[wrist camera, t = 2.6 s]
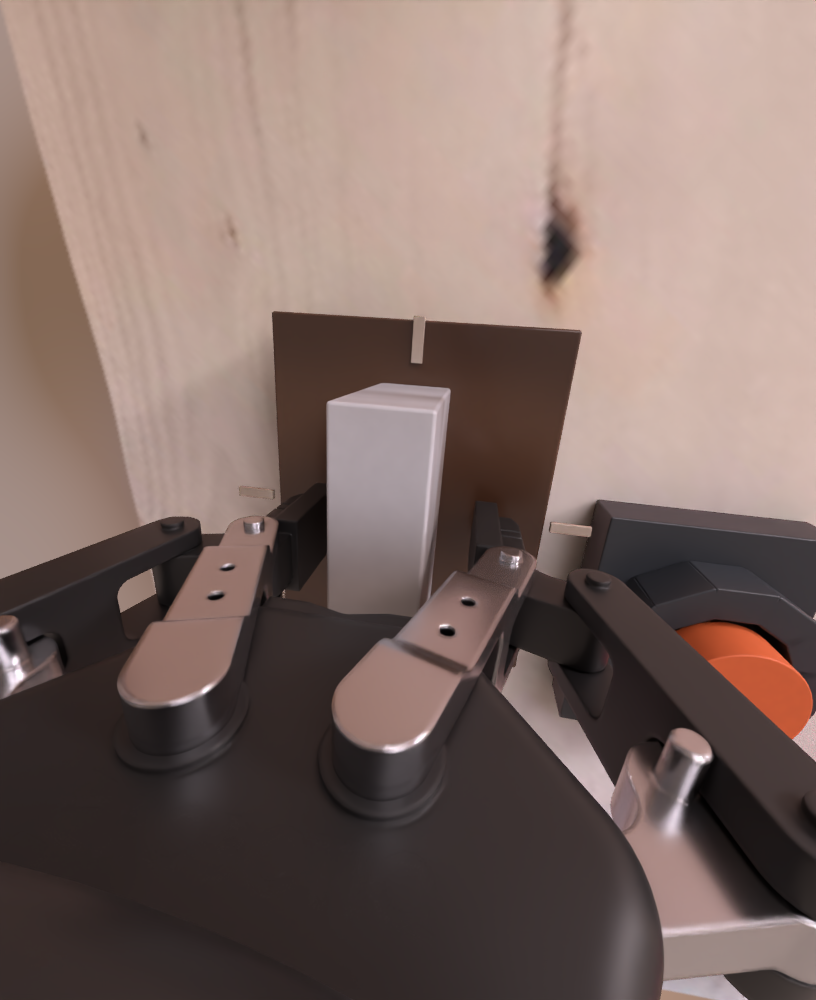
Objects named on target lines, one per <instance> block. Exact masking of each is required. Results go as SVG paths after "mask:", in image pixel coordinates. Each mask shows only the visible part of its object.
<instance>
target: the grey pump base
mask: <svg viewBox="0 0 816 1000" xmlns="http://www.w3.org/2000/svg"><path fill="white" fill-rule="evenodd" d="M591 527H592V532H591V536H590V537H588V540H587V544H586V548H585V552H584V556H583V560H582V564H581V568H580V569H593V570H598V571H602V572H605V573H608V574H610V575H612V576H614V577H616V578H618V579H619V580H621V581H622V582H623V583H624V584H625V585H626V586H627V587H628V588H630V589H631V590H632V591H633V592H634V593H635V594H636V595H637V596H638V597H639V598H640V599H641V600H642V601H644V602H645V603H646V604H647V605H648V606H649V607H650V608H651V609H652V610H653V611H654V612H655V613H656V614H657V615H659V616H660V617H661V618H662V619H663V620H664V621H665V622H666V623H667V624H668V625H669V626H670V627H671V628H672V629H674V630H678V629H680V628H683V627H687V626H690V625H694V624H698V623H703V622H727V623H732V624H737V625H740V626H743V627H746V628H748V629H750V630H753V631H754V632H756V633H757V634H759V635H760V636H762V637H763V638H764V639H765V640H766V641H767V642H768V643H769V644H770V645H771V646H772V647H773V648H774V649H775V650H776V651H777V652H778V653H779V654H780V655H781V656H782V657H783V658H784V659H785V660H786V661H787V662H788V663H789V664H790V665H791V666H793V667H794V668H795V669H796V670H797V671H798V672H799V673H800V675H801V676H802V677H803V678H804V679H805V681H806V682H807V684H808V685H809V688H810V691H811V693H812V699H813V706H812V712H811V715H810V718H811V716H813V715H814V713H815V711H816V621H815V620H814V619H813V617H814V615H815V613H816V527H815V526H813V525H811V524H809V523H807V522H799V521H790V520H781V519H771V518H762V517H753V516H744V515H734V514H725V513H716V512H707V511H698V510H688V509H679V508H670V507H661V506H652V505H642V504H633V503H624V502H615V501H605V500H597V503H596V507H595V511H594V515H593V519H592V523H591ZM608 663H609V664H610V665H611V666H612V662H611V659H610V656H609V658H608ZM612 668H613V667H612ZM552 686H553V690H554V694H555V699H556V703H557V707H558V711H559V716H560V717H563V718H569V719H575V720H577V718H576V716H575V715H574V713H573V711H572V709H571V707H570V706H569V704H568V702H567V700H566V698H565V697H564V695H563V693H562V691H561V689H560V688H559V686H558V684H557V682H556V681H555V679H553V683H552ZM810 718H809V719H810Z"/></svg>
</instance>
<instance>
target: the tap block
mask: <svg viewBox="0 0 816 1000" xmlns="http://www.w3.org/2000/svg"><path fill="white" fill-rule="evenodd" d="M425 320H426V317H422V316H414V320H407V319H390V318H374V317H358V316H342V315H326V314H310V313H293V312H277V311H274V312H272V321H273V342H274V364H275V385H276V406H277V428H278V449H279V470H280V492H281V504H282V503H283V502H284V501H286V500H287V499H288V498H290V497H292V496H295V495H298V494H303V493H304V492H306V491H307V490H308V489H309V488H310V487H312V486H313V485H314V484H315V483H325V484H327V432H326V404H327V402H328V401H331V400H334V399H336V398H339V397H342V396H345V395H348V394H351V393H354V392H357V391H360V390H363V389H366V388H369V387H372V386H375V385H377V384H380V383H391V384H403V385H415V386H428V387H440V388H449V389H450V391H451V393H450V403H449V413H448V423H447V433H446V443H445V453H444V463H443V473H442V483H441V493H440V504H439V514H438V524H437V534H436V544H435V554H434V564H433V574H432V584H431V594H430V597H431V596H432V595H433V594H434V593H435V592H436V591H437V589H438V588H439V587H440V586H441V585H442V584H443V583H444V582H445V581H446V579H447V578H448V577H449V576H450V575H451V574H452V573H453V572H454V571H455V570H460V571H463V572H466V573H468V555H469V545H470V537H471V530H472V522H473V514H474V507H475V501H484V502H492V503H497V507H498V514H499V517H505V518H511V519H512V520H514V521H515V522H516V523H517V524H518V525H519V528H520V532H521V535H522V539H523V543H524V547H525V551H526V552H528V553H530V554H531V555H532V556H534V558H535V559H536V560H537V555H538V550H539V545H540V540H541V535H542V530H543V525H544V520H545V515H546V510H547V505H548V500H549V495H550V490H551V485H552V480H553V475H554V470H555V465H556V460H557V455H558V450H559V445H560V440H561V435H562V430H563V425H564V420H565V415H566V410H567V405H568V400H569V394H570V389H571V384H572V379H573V374H574V369H575V364H576V359H577V354H578V349H579V344H580V339H581V334H582V332H581V331H580V330H568V329H552V328H536V327H520V326H503V325H487V324H471V323H455V322H439V321H425ZM239 495H240V496H248V497H257V498H265V499H274V498H275V491H274V490H272V489H264V488H255V487H246V486H240V487H239ZM549 532H550V533H559V534H567V535H575V536H584V537H590V536H591V532H592V527H591V526H582V525H573V524H565V523H556V522H551V523H550V528H549ZM285 598H287V599H294V600H300V601H307V602H311V603H313V604H316V605H319V606H322V607H325V608H327V554H326V556H325V557H324V558H323V560H322V561H321V562H320V564H319V565H318V567H317V568H316V569H315V571H314V572H313V573H312V575H311V576H310V578H309V579H308V580H307V582H306V583H305V584H304V586H303V587H302V589H301V590H300V591H292V590H285ZM517 656H518V654H517ZM516 661H517V657H516V659H515V661H514V664H513V666H512V667H515V666H516Z"/></svg>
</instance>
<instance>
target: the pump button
mask: <svg viewBox="0 0 816 1000" xmlns="http://www.w3.org/2000/svg"><path fill="white" fill-rule="evenodd" d="M675 631H676V632H677V633H678V634H679V635H680V636H681V637H682V638H683V639H684V640H685V641H686V642H688V643H689V644H690V645H691V646H692V647H693V648H694V649H695V650H696V651H697V652H698V653H699V654H700V655H701V656H703V657H704V658H705V659H706V660H707V661H708V662H709V663H710V664H711V665H712V666H713V667H714V668H715V669H716V670H718V671H719V672H720V673H721V674H722V675H723V676H724V677H725V678H726V679H727V680H728V681H729V682H730V683H732V684H733V685H734V686H735V687H736V688H737V689H738V690H739V691H740V692H741V693H742V694H743V695H744V696H745V697H747V698H748V699H749V700H750V701H751V702H752V703H753V704H754V705H755V706H756V707H757V708H758V709H759V710H760V711H762V712H763V713H764V714H765V715H766V716H767V717H768V718H769V719H770V720H771V721H772V722H773V723H774V724H775V725H777V726H778V727H779V728H780V729H781V730H782V731H783V732H784V733H785V734H786V735H787V736H788V737H789V738H791V739H793V738H794V737H795V736H796V735H798V734H799V732H800V731H801V730H802V729H803V728H804V726H805V725H806V723H807V722H808V720H809V718H810V715H811V712H812V706H813V699H812V693H811V691H810V688H809V685H808V684H807V682H806V681H805V679H804V678H803V677H802V676H801V675H800V673H799V672H798V671H797V670H796V669H795V668H794V667H793V666H791V665H790V664H789V663H788V662H787V661H786V660H785V659H784V658H783V657H782V656H781V655H780V654H779V653H778V652H777V651H776V650H775V649H774V648H773V647H772V646H771V645H770V644H769V643H768V642H767V641H766V640H765V639H764V638H763V637H762V636H760V635H759V634H757V633H756V632H754V631H753V630H750V629H748V628H746V627H743V626H740V625H737V624H732V623H727V622H703V623H698V624H694V625H690V626H687V627H683V628H680V629H678V630H675Z"/></svg>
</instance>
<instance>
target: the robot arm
mask: <svg viewBox="0 0 816 1000" xmlns="http://www.w3.org/2000/svg"><path fill="white" fill-rule="evenodd" d="M326 554H327V484H325V483H315V484H314V485H313V486H312V487H310V488H309V489H308V490H307V491H306V492H304V493H303V494H298V495H295V496H292V497H290V498H288V499H287V500H286V501H284V502H283V503H282V504H281V505H279V506H278V507H277V509H274V510H273V511H272V512H271V513H269V514H268V515H267V516H249V517H244V518H240V519H237V520H235V521H233V522H232V523H230V525H229V526H228V528H227V530H226V532H225V534H202V533H201V525H200V521H199V520H197V519H195V518H191V517H168V518H165V519H161V520H157V521H155V522H152V523H149V524H147V525H144V526H141V527H139V528H136V529H134V530H131V531H128V532H125V533H123V534H120V535H117V536H115V537H112V538H109V539H107V540H104V541H101V542H99V543H96V544H93V545H91V546H88V547H85V548H83V549H80V550H77V551H75V552H72V553H69V554H67V555H64V556H61V557H59V558H56V559H53V560H50V561H48V562H45V563H43V564H40V565H37V566H34V567H32V568H29V569H26V570H24V571H21V572H19V573H16V574H13V575H10V576H8V577H5V578H2V579H0V1000H660V996H661V990H662V984H663V981H668V980H677V979H686V978H696V977H705V976H714V975H724V976H725V978H726V979H727V980H728V981H729V982H730V983H731V984H732V985H733V986H734V987H735V988H736V989H737V990H738V991H739V992H740V993H741V994H742V995H743V996H745V997H746V998H747V999H748V1000H816V762H815V761H814V760H813V759H812V758H811V757H810V756H809V755H808V754H807V753H806V752H804V751H803V750H802V749H801V748H800V747H799V746H798V745H797V744H796V743H795V742H794V741H793V740H792V739H791V738H789V737H788V736H787V735H786V734H785V733H784V732H783V731H782V730H781V729H780V728H779V727H778V726H777V725H775V724H774V723H773V722H772V721H771V720H770V719H769V718H768V717H767V716H766V715H765V714H764V713H763V712H762V711H760V710H759V709H758V708H757V707H756V706H755V705H754V704H753V703H752V702H751V701H750V700H749V699H748V698H747V697H745V696H744V695H743V694H742V693H741V692H740V691H739V690H738V689H737V688H736V687H735V686H734V685H733V684H732V683H730V682H729V681H728V680H727V679H726V678H725V677H724V676H723V675H722V674H721V673H720V672H719V671H718V670H716V669H715V668H714V667H713V666H712V665H711V664H710V663H709V662H708V661H707V660H706V659H705V658H704V657H703V656H701V655H700V654H699V653H698V652H697V651H696V650H695V649H694V648H693V647H692V646H691V645H690V644H689V643H688V642H686V641H685V640H684V639H683V638H682V637H681V636H680V635H679V634H678V633H677V632H676V631H675V630H674V629H672V628H671V627H670V626H669V625H668V624H667V623H666V622H665V621H664V620H663V619H662V618H661V617H660V616H659V615H657V614H656V613H655V612H654V611H653V610H652V609H651V608H650V607H649V606H648V605H647V604H646V603H645V602H644V601H642V600H641V599H640V598H639V597H638V596H637V595H636V594H635V593H634V592H633V591H632V590H631V589H630V588H628V587H627V586H626V585H625V584H624V583H623V582H622V581H621V580H619V579H618V578H616V577H614V576H612V575H610V574H608V573H605V572H602V571H598V570H593V569H575V570H573V571H571V572H570V573H569V575H568V578H567V581H564V580H560V579H557V578H553V577H550V576H548V575H545V574H543V573H541V572H539V571H538V570H536V565H537V561H536V559H535V558H534V556H532V555H531V554H530V553H528V552H526V551H525V547H524V543H523V539H522V535H521V532H520V528H519V525H518V524H517V523H516V522H515V521H514V520H512V519H511V518H505V517H499V514H498V507H497V503H492V502H484V501H475V507H474V514H473V522H472V530H471V537H470V545H469V555H468V573H466V572H463V571H460V570H455V571H454V572H453V573H452V574H451V575H450V576H449V577H448V578H447V579H446V581H445V582H444V583H443V584H442V585H441V586H440V587H439V588H438V589H437V591H436V592H435V593H434V594H433V595H432V596H431V597H430V598H429V599H428V601H427V602H426V603H425V604H424V605H423V606H422V607H421V608H420V609H419V611H418V612H417V613H416V614H415V615H414V616H413V617H408V616H401V615H394V614H343V613H340V612H337V611H334V610H331V609H328V608H325V607H322V606H319V605H316V604H313V603H311V602H307V601H300V600H294V599H287V598H282V592H283V590H284V589H285V590H292V591H300V590H301V589H302V587H303V586H304V584H305V583H306V582H307V580H308V579H309V578H310V576H311V575H312V573H313V572H314V571H315V569H316V568H317V567H318V565H319V564H320V562H321V561H322V560H323V558H324V557H325V556H326ZM151 568H152V570H153V576H154V582H155V587H156V593H157V594H155V595H153V596H151V597H149V598H147V599H146V600H144V601H142V602H140V603H138V604H136V605H135V606H133V607H131V608H129V609H127V610H125V611H124V612H122V613H120V609H119V604H118V599H117V595H118V591H119V589H120V587H121V586H122V584H123V583H124V582H126V581H127V580H128V579H130V578H132V577H135V576H137V575H139V574H141V573H143V572H145V571H147V570H149V569H151ZM520 649H522V650H525V651H528V652H530V653H533V654H536V655H538V656H541V657H543V658H546V659H549V660H548V667H549V670H550V672H551V673H552V675H553V677H554V679H555V681H556V682H557V684H558V686H559V688H560V689H561V691H562V693H563V695H564V697H565V698H566V700H567V702H568V704H569V706H570V707H571V709H572V711H573V713H574V715H575V716H576V718H577V720H578V722H579V723H580V725H581V727H582V729H583V731H584V732H585V734H586V736H587V738H588V740H589V741H590V743H591V745H592V747H593V749H594V750H595V752H596V754H597V756H598V757H599V759H600V761H601V763H602V765H603V766H604V768H605V770H606V772H607V774H608V775H609V777H610V779H611V781H612V783H613V784H614V786H615V789H614V792H613V795H612V798H611V804H610V806H611V814H612V818H613V820H612V818H611V817H610V816H609V815H608V813H607V812H606V811H605V810H604V809H603V808H602V807H601V805H600V804H599V803H598V802H597V801H596V800H595V799H594V798H593V796H592V795H591V794H590V793H589V792H588V791H587V790H586V789H585V787H584V786H583V785H582V784H581V783H580V782H579V781H578V780H577V778H576V777H575V776H574V775H573V774H572V773H571V772H570V771H569V769H568V768H567V767H566V766H565V765H564V764H563V763H562V761H561V760H560V759H559V758H558V757H557V756H556V755H555V754H554V752H553V751H552V750H551V749H550V748H549V747H548V746H547V745H546V743H545V742H544V741H543V740H542V739H541V738H540V737H539V735H538V734H537V733H536V732H535V731H534V730H533V729H532V728H531V726H530V725H529V724H528V723H527V722H526V721H525V720H524V719H523V717H522V716H521V715H520V714H519V713H518V712H517V711H516V709H515V708H514V707H513V706H512V705H511V704H510V703H509V702H508V700H507V699H506V698H505V697H504V696H503V695H502V694H501V692H502V690H503V687H504V685H505V683H506V680H507V678H508V676H509V673H510V671H511V669H512V666H513V664H514V661H515V659H516V657H517V654H518V652H519V650H520ZM609 656H610V659H611V662H612V666H611V665H610V664H609V663H608V658H609ZM612 667H613V668H612Z"/></svg>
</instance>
